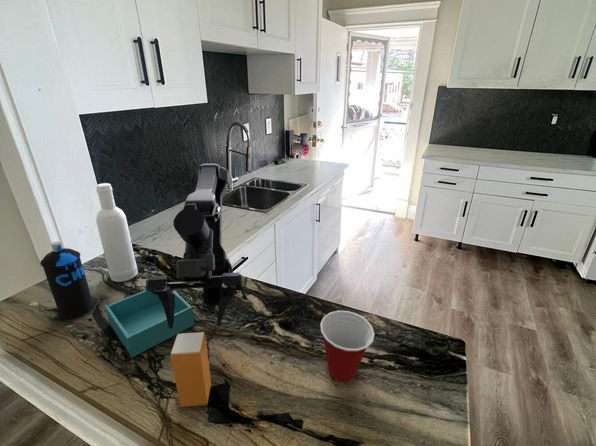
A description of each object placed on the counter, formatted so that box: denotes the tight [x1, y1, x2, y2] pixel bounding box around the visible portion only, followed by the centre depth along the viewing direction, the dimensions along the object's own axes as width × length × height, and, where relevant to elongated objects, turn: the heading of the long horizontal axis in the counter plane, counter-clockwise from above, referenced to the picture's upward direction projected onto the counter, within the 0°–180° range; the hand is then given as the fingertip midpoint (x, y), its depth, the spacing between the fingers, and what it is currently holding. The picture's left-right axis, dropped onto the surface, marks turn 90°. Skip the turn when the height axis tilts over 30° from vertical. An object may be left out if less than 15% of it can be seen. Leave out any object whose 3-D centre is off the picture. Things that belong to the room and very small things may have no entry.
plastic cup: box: [319, 310, 375, 383], centre depth 65 cm, size 11×11×12 cm
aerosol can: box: [39, 241, 96, 320], centre depth 81 cm, size 8×8×20 cm
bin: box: [104, 290, 195, 358], centre depth 79 cm, size 15×15×6 cm
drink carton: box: [170, 331, 212, 408], centre depth 59 cm, size 5×5×13 cm
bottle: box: [95, 182, 139, 283], centre depth 95 cm, size 8×8×30 cm
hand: (194, 327), depth 62 cm, fingers open, 9 cm apart
